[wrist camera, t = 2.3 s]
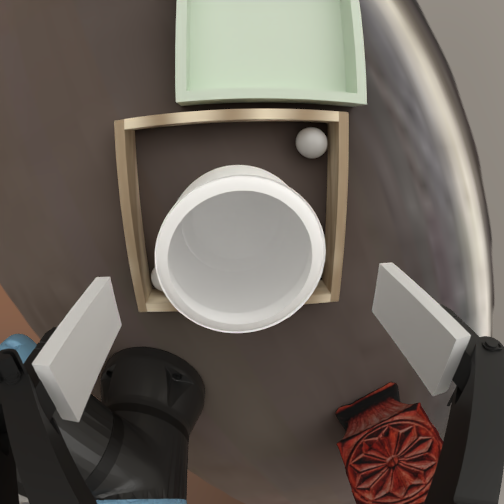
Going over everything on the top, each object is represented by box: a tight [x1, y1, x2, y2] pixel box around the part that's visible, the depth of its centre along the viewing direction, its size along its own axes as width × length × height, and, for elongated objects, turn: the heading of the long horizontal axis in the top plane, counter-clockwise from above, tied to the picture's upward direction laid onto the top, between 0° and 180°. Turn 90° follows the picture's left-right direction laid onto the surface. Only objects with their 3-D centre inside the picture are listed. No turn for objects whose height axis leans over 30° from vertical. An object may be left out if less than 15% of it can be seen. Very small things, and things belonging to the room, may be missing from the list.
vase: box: [336, 382, 443, 504], centre depth 33 cm, size 14×14×30 cm
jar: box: [155, 165, 326, 333], centre depth 25 cm, size 11×10×15 cm
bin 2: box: [114, 109, 349, 312], centre depth 31 cm, size 22×20×4 cm
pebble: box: [296, 127, 328, 158], centre depth 29 cm, size 3×3×3 cm
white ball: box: [151, 267, 163, 291], centre depth 33 cm, size 3×3×3 cm
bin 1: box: [175, 0, 367, 107], centre depth 24 cm, size 18×18×4 cm
